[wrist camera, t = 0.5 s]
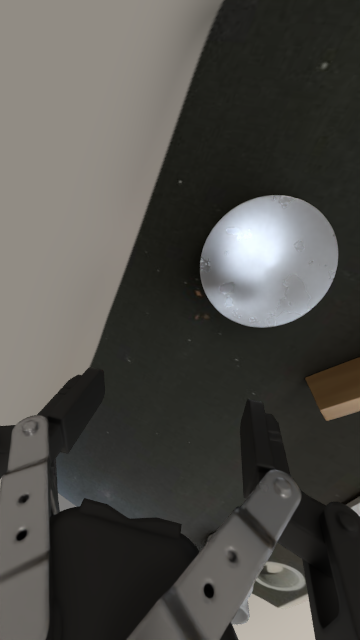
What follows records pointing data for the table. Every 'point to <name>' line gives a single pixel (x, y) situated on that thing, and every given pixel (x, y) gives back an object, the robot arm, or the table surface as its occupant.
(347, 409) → the corner fence
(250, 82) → the table surface
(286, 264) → the white-topped round disc
